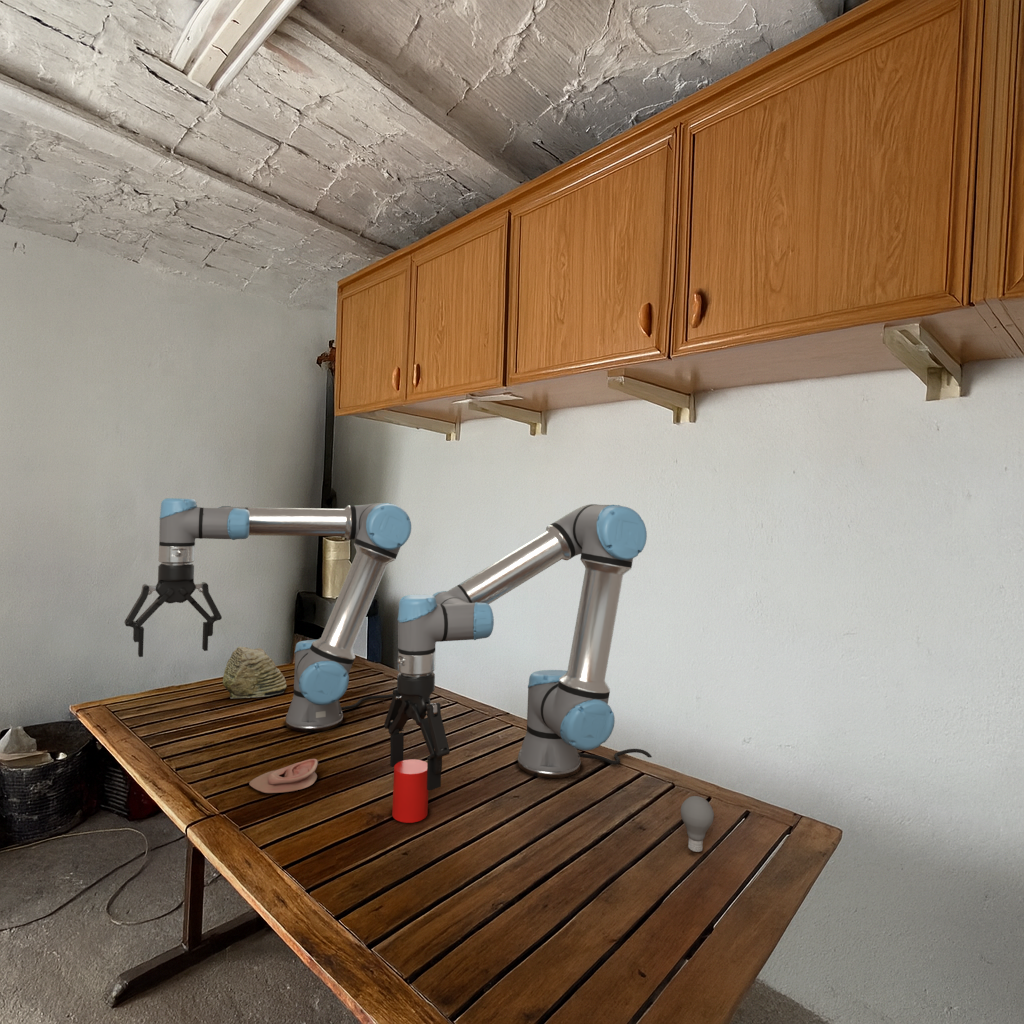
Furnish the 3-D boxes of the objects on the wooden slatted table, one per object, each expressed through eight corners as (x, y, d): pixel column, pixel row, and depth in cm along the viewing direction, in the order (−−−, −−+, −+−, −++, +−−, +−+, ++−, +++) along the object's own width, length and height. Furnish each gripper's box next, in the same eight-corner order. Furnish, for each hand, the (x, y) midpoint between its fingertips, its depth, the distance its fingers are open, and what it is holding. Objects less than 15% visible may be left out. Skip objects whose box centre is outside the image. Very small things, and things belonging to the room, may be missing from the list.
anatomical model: (241, 770, 135) (272, 750, 146) (240, 789, 135) (271, 767, 146) (297, 779, 132) (324, 757, 144) (297, 798, 132) (324, 775, 144)
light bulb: (674, 841, 122) (676, 790, 121) (704, 841, 122) (707, 790, 122) (685, 859, 116) (688, 805, 115) (717, 859, 116) (719, 805, 116)
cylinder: (426, 804, 132) (428, 758, 132) (428, 822, 125) (430, 773, 125) (392, 806, 131) (394, 759, 131) (391, 823, 124) (393, 774, 124)
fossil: (218, 695, 195) (220, 647, 195) (278, 685, 208) (279, 640, 207) (228, 703, 189) (230, 653, 188) (289, 692, 201) (290, 645, 201)
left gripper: (115, 566, 140) (112, 662, 140) (236, 563, 154) (233, 650, 154) (113, 562, 146) (110, 654, 146) (229, 560, 160) (226, 644, 161)
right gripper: (368, 662, 135) (367, 760, 135) (436, 690, 116) (434, 805, 117) (399, 656, 140) (397, 751, 140) (469, 683, 121) (467, 792, 122)
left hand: (173, 652), depth 150 cm, fingers open, 13 cm apart
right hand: (414, 776), depth 128 cm, fingers open, 13 cm apart
